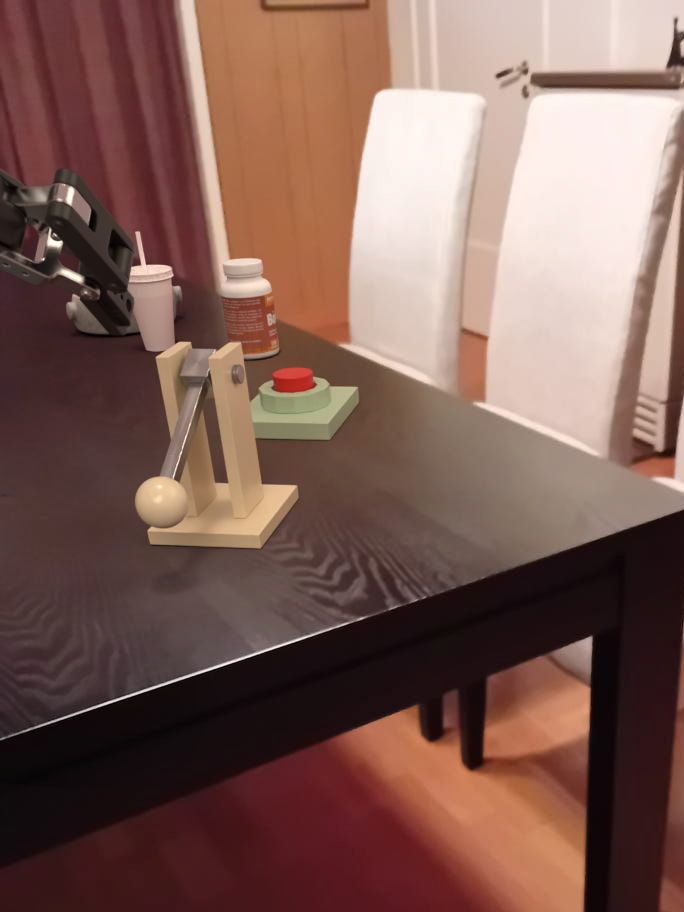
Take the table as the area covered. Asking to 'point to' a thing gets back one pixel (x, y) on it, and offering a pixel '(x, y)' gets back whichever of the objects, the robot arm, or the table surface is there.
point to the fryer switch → (244, 496)
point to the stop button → (293, 380)
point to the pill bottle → (249, 308)
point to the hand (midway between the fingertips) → (49, 320)
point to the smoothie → (153, 302)
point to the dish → (91, 324)
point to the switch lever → (177, 448)
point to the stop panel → (302, 411)
